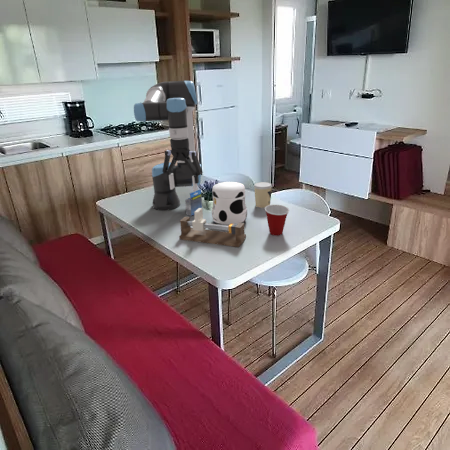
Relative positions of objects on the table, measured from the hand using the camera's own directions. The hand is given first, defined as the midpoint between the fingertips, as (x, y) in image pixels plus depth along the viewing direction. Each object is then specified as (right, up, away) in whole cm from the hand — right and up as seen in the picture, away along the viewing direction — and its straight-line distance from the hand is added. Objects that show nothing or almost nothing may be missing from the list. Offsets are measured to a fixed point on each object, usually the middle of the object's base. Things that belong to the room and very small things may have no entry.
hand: (183, 189), depth 157 cm
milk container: (+20, -14, +21) cm, 33 cm away
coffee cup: (+38, -5, +39) cm, 55 cm away
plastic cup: (+41, -19, +7) cm, 46 cm away
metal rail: (+12, -17, +3) cm, 21 cm away
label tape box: (+2, -9, +34) cm, 35 cm away
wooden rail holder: (+12, -21, +5) cm, 25 cm away
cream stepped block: (+7, -17, +5) cm, 19 cm away
